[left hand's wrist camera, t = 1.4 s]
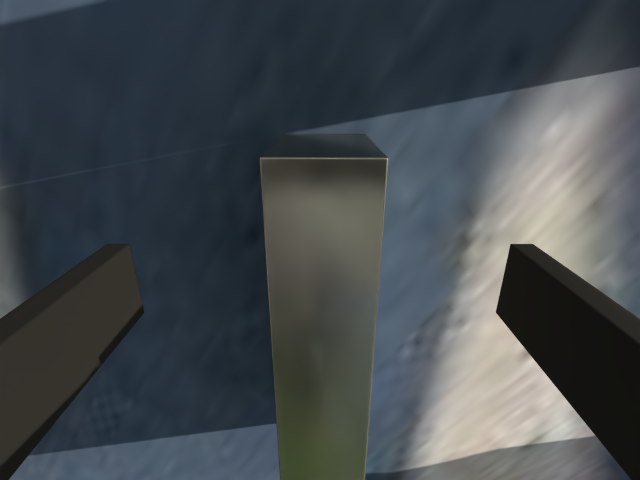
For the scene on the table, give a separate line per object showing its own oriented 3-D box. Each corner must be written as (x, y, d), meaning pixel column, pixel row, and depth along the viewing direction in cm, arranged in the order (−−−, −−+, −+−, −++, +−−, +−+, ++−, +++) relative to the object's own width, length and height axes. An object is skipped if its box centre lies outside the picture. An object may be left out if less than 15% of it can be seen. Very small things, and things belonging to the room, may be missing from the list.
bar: (281, 133, 22) (258, 157, 14) (366, 134, 22) (388, 157, 14) (292, 413, 31) (282, 518, 23) (352, 413, 31) (362, 519, 23)
